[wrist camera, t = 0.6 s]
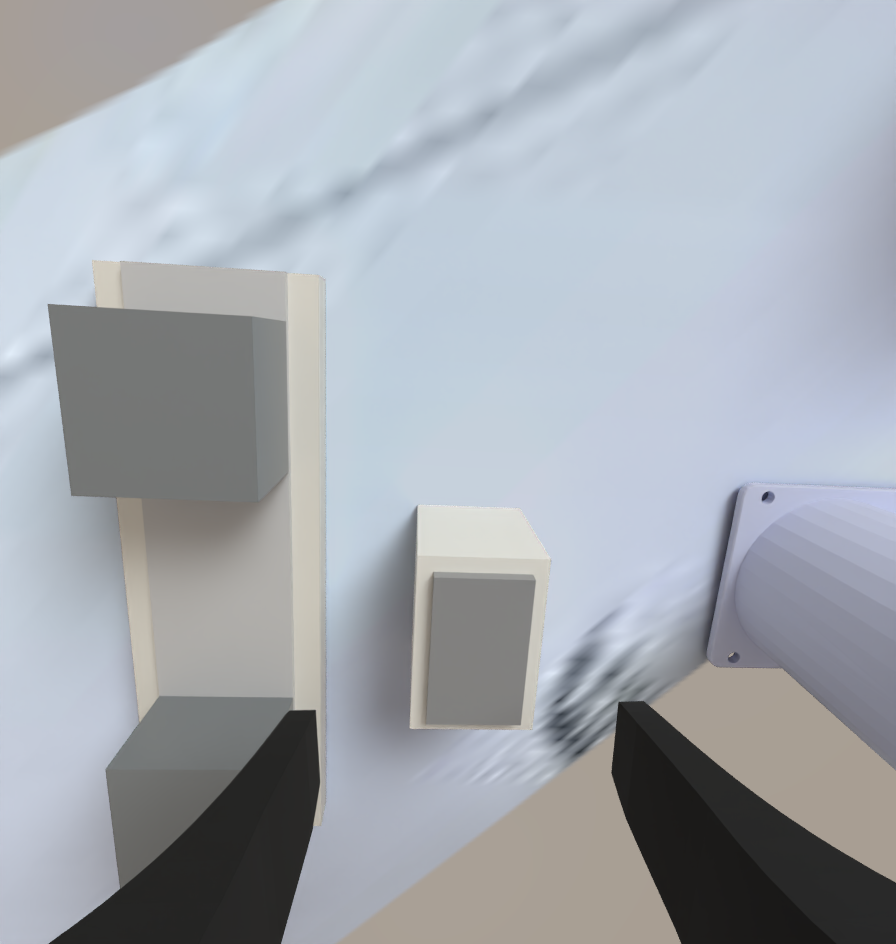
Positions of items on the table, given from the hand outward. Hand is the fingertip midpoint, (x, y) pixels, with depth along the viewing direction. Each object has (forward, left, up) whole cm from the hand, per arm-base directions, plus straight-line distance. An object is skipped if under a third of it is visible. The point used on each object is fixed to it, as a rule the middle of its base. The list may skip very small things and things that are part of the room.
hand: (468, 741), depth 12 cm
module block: (-1, 0, -9) cm, 9 cm away
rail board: (+8, 0, -9) cm, 12 cm away
